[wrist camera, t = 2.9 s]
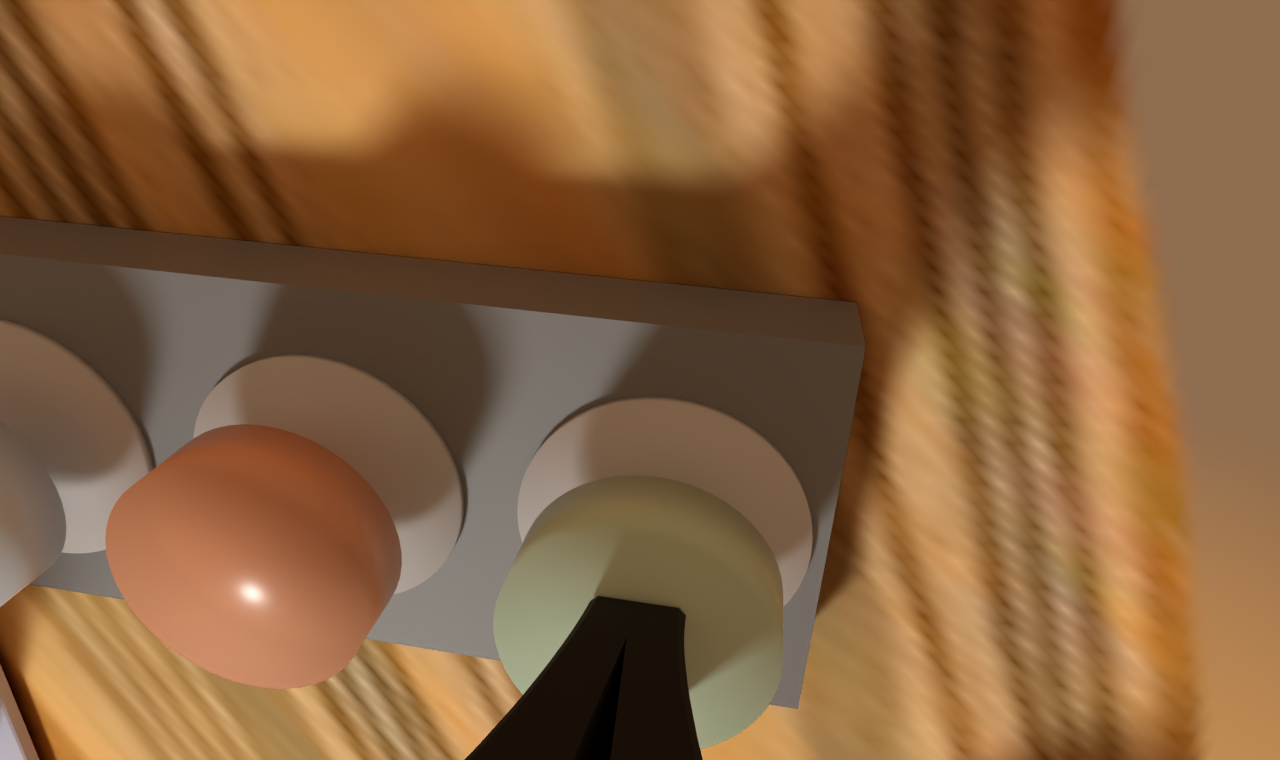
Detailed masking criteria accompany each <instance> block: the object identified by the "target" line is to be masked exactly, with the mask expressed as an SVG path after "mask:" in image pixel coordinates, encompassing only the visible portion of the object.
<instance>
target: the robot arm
mask: <svg viewBox="0 0 1280 760" xmlns="http://www.w3.org/2000/svg"><path fill="white" fill-rule="evenodd" d="M685 621H686V615H685V614H684V613H683V612H682V611H681V609H680V608H676V607H669V606H663V605H656V604H649V603H643V602H636V601H630V600H623V599H616V598H610V597H603V596H597V597H595V598H594V599H592V600H591V601H590V602H589V604H588V606H587V608H586V609H585V611H584V613H583V614H582V616H581V617H580V619H579V620H578V622H577V624H576V625H575V627H574V628H573V630H572V631H571V633H570V634H569V635H568V637H567V638H566V640H565V641H564V643H563V644H562V645H561V647H560V648H559V649H558V651H557V652H556V654H555V655H554V656H553V658H552V659H551V660H550V662H549V663H548V664H547V666H546V667H545V668H544V669H543V671H542V672H541V673H540V674H539V676H538V677H537V678H536V679H535V681H534V682H533V683H532V684H531V686H530V687H529V688H528V689H527V691H526V692H525V693H524V694H523V696H522V697H521V698H520V699H519V700H518V702H517V703H516V704H515V705H514V706H513V707H512V709H511V710H510V711H509V712H508V713H507V714H506V715H505V716H504V718H503V719H502V720H501V721H500V722H499V723H498V724H497V725H496V726H495V728H494V729H493V730H492V731H491V732H490V733H489V734H488V735H487V736H486V738H485V739H484V740H483V741H482V742H481V743H480V744H479V745H478V746H477V747H476V748H475V749H474V751H473V752H472V753H471V754H470V755H469V756H468V757H467V758H466V759H465V760H702V755H701V751H700V747H699V742H698V738H697V733H696V728H695V723H694V717H693V712H692V707H691V702H690V696H689V689H688V683H687V674H686V664H685V651H684V631H685ZM0 760H39V757H38V755H37V752H36V750H35V747H34V745H33V742H32V740H31V738H30V735H29V733H28V730H27V728H26V725H25V723H24V721H23V718H22V716H21V713H20V711H19V708H18V706H17V704H16V701H15V699H14V696H13V694H12V691H11V689H10V686H9V684H8V682H7V679H6V677H5V674H4V672H3V669H2V667H1V665H0Z"/></svg>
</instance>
